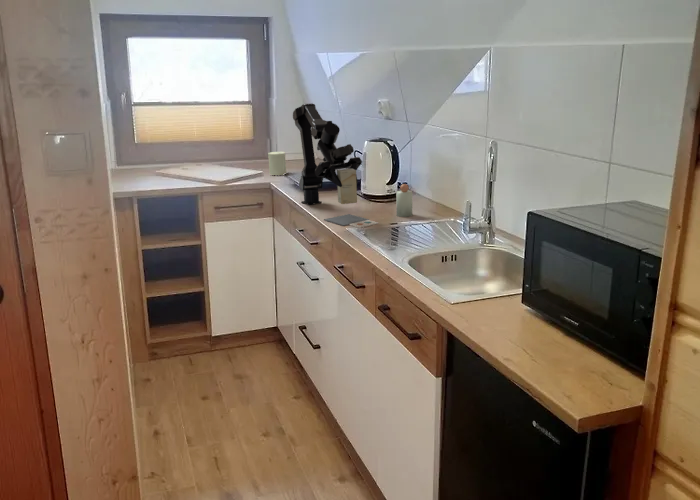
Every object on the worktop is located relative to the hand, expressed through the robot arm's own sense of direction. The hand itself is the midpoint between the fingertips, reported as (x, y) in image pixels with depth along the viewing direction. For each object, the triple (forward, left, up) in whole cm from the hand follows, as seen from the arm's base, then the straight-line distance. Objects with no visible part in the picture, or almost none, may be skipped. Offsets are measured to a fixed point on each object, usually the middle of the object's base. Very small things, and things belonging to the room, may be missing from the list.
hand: (349, 185), depth 228 cm
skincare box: (-1, 0, -7) cm, 7 cm away
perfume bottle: (+8, +20, -13) cm, 26 cm away
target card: (+8, 0, -13) cm, 15 cm away
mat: (-1, -1, -13) cm, 14 cm away
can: (-106, +35, -14) cm, 113 cm away
